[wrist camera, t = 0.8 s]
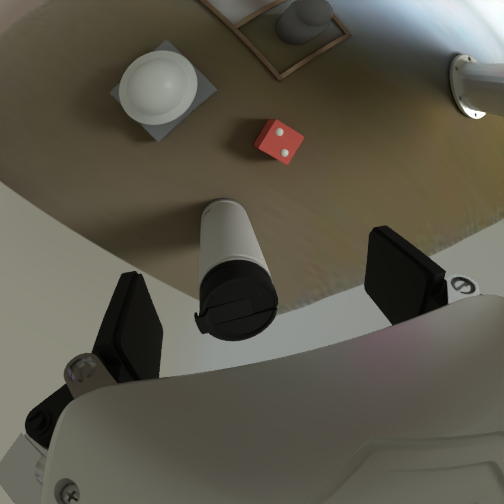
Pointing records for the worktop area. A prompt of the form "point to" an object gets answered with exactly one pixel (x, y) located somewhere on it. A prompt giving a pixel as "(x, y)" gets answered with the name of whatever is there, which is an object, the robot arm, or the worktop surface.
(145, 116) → the dome
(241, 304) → the travel mug
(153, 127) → the collar
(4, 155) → the worktop surface
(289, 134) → the red die
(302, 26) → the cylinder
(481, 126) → the worktop surface
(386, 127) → the worktop surface
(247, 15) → the brown flat rectangular frame
